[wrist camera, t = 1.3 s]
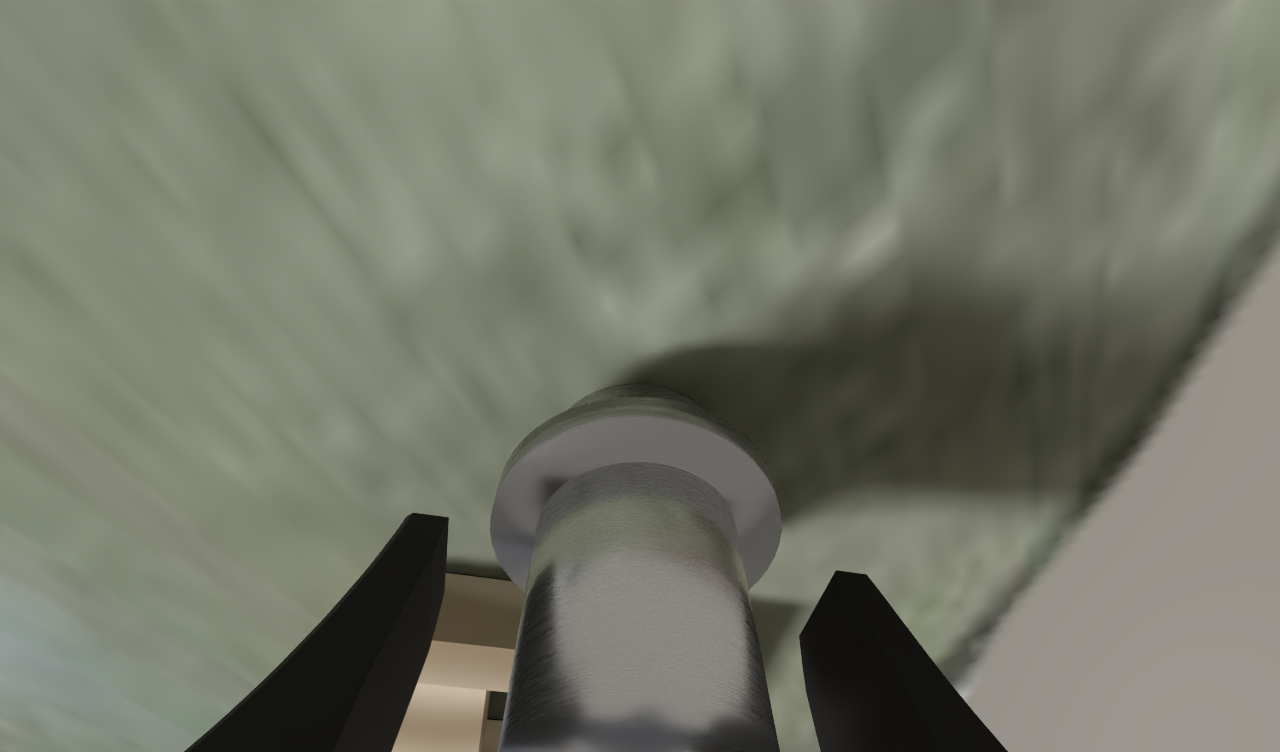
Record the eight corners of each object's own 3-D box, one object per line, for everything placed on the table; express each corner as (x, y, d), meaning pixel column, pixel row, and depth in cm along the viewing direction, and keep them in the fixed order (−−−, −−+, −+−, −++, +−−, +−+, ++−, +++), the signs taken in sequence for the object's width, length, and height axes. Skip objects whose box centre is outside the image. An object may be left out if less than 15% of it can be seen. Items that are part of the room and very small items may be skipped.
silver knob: (720, 553, 16) (771, 873, 11) (501, 524, 16) (423, 849, 10) (793, 372, 13) (921, 681, 7) (525, 326, 13) (433, 626, 7)
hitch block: (644, 815, 24) (645, 877, 23) (384, 794, 23) (365, 857, 22) (738, 609, 18) (749, 675, 16) (377, 564, 16) (348, 631, 15)
